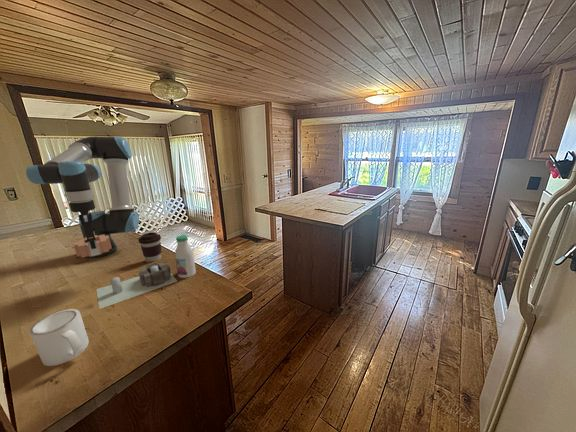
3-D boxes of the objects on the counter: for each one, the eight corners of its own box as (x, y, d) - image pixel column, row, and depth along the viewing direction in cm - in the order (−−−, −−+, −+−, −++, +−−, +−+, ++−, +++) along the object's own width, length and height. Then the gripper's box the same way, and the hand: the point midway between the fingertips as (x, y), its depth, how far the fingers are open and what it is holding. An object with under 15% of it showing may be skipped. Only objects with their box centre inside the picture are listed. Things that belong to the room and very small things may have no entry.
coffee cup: (155, 266, 116) (150, 239, 111) (138, 264, 118) (132, 237, 113) (168, 257, 125) (164, 231, 121) (153, 255, 127) (148, 230, 123)
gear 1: (77, 250, 99) (73, 239, 97) (109, 243, 106) (107, 232, 104) (77, 259, 90) (73, 248, 89) (112, 251, 98) (110, 240, 96)
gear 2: (138, 278, 102) (136, 268, 101) (166, 269, 110) (164, 260, 108) (144, 289, 94) (142, 279, 93) (173, 279, 102) (172, 269, 100)
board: (97, 292, 95) (92, 276, 93) (167, 270, 112) (164, 256, 110) (100, 312, 84) (95, 294, 82) (177, 284, 101) (175, 269, 99)
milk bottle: (192, 270, 113) (187, 232, 107) (198, 276, 107) (193, 236, 101) (175, 276, 107) (169, 236, 102) (182, 282, 102) (175, 241, 96)
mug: (103, 345, 70) (95, 317, 67) (61, 375, 61) (49, 343, 58) (76, 333, 75) (67, 305, 71) (34, 358, 65) (21, 328, 62)
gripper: (68, 197, 97) (82, 243, 104) (67, 208, 81) (84, 263, 87) (91, 194, 102) (103, 239, 109) (95, 204, 85) (108, 257, 92)
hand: (94, 250), depth 98 cm, fingers closed on gear 1, 11 cm apart
